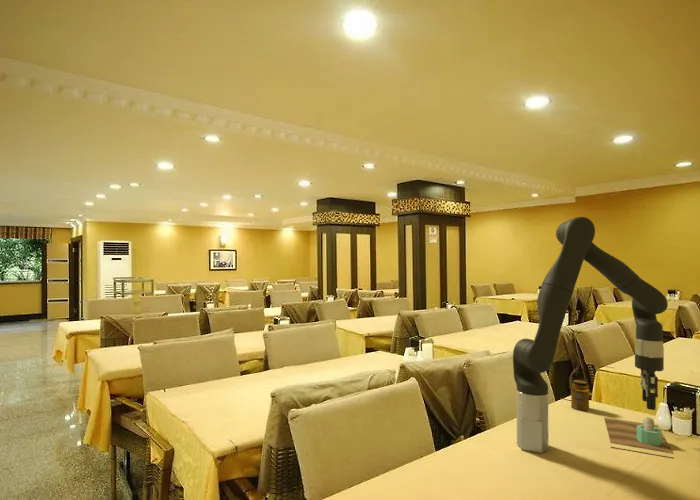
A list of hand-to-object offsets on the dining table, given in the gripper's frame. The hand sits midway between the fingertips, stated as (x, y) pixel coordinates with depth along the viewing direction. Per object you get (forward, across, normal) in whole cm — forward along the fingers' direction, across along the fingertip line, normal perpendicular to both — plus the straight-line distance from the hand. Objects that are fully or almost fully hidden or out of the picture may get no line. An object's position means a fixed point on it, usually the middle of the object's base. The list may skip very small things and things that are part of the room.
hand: (648, 405), depth 134 cm
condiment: (+13, -23, -19) cm, 33 cm away
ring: (+11, 0, 0) cm, 11 cm away
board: (+13, -6, -3) cm, 14 cm away
